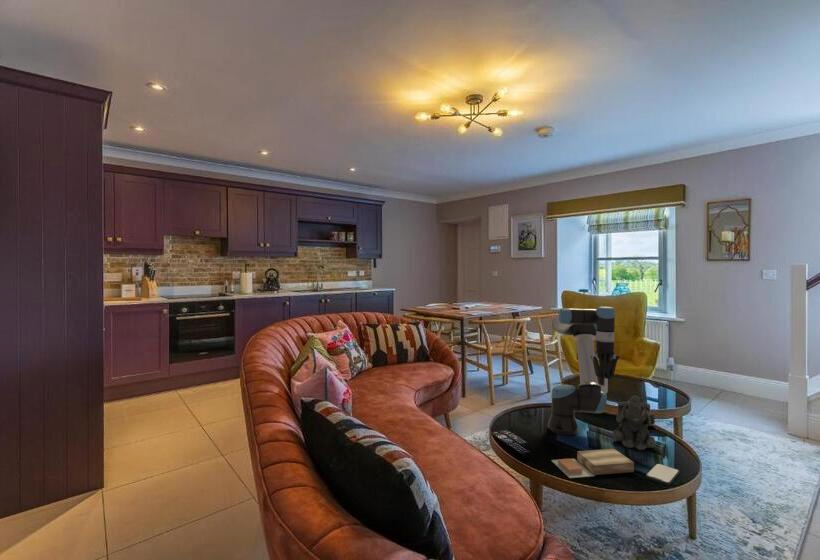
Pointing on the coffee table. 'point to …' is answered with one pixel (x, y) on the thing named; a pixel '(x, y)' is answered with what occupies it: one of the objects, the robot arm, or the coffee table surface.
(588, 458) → the wooden block
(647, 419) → the stuffed elephant
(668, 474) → the phone case
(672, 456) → the coffee table surface
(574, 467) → the salmon orange slab
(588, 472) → the mat
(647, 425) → the beverage can
